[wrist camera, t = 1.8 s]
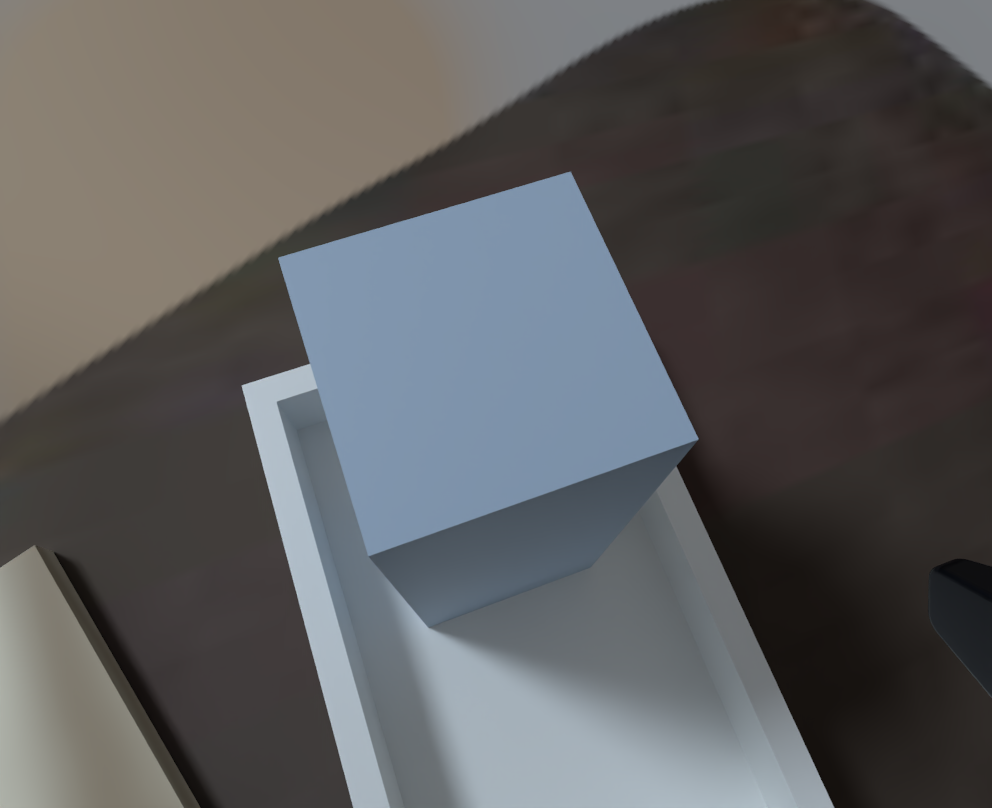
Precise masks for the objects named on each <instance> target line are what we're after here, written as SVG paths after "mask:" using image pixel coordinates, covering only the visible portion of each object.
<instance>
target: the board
mask: <svg viewBox="0 0 992 808" xmlns="http://www.w3.org/2000/svg"><path fill="white" fill-rule="evenodd" d="M0 808H200V806H199V804H198V802H197V801H196V799H195V797H194V795H193V794H192V792H191V790H190V789H189V787H188V785H187V783H186V782H185V780H184V778H183V776H182V775H181V773H180V771H179V769H178V768H177V766H176V764H175V762H174V761H173V759H172V757H171V756H170V754H169V752H168V750H167V749H166V747H165V745H164V743H163V742H162V740H161V738H160V736H159V735H158V733H157V731H156V729H155V728H154V726H153V724H152V723H151V721H150V719H149V717H148V716H147V714H146V712H145V710H144V709H143V707H142V705H141V703H140V702H139V700H138V698H137V696H136V695H135V693H134V691H133V690H132V688H131V686H130V684H129V683H128V681H127V679H126V677H125V676H124V674H123V672H122V670H121V669H120V667H119V665H118V663H117V662H116V660H115V658H114V657H113V655H112V653H111V651H110V650H109V648H108V646H107V644H106V643H105V641H104V639H103V637H102V636H101V634H100V632H99V630H98V629H97V627H96V625H95V624H94V622H93V620H92V618H91V617H90V615H89V613H88V611H87V610H86V608H85V606H84V604H83V603H82V601H81V599H80V597H79V596H78V594H77V592H76V591H75V589H74V587H73V585H72V584H71V582H70V580H69V578H68V577H67V575H66V573H65V571H64V570H63V568H62V566H61V564H60V563H59V561H58V559H57V558H56V556H55V554H54V552H53V551H50V550H47V549H44V548H41V547H38V546H35V545H34V546H33V547H31V548H30V549H28V550H27V551H25V552H24V553H22V554H21V555H19V556H17V557H16V558H14V559H13V560H11V561H10V562H8V563H7V564H5V565H4V566H2V567H1V568H0Z"/></svg>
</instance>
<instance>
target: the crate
mask: <svg viewBox="0 0 992 808" xmlns="http://www.w3.org/2000/svg"><path fill="white" fill-rule="evenodd" d="M242 389H243V392H244V396H245V400H246V404H247V408H248V411H249V415H250V419H251V423H252V426H253V430H254V434H255V438H256V442H257V445H258V449H259V453H260V457H261V460H262V464H263V468H264V472H265V476H266V479H267V483H268V487H269V491H270V494H271V498H272V502H273V506H274V510H275V513H276V517H277V521H278V525H279V528H280V532H281V536H282V540H283V544H284V547H285V551H286V555H287V559H288V562H289V566H290V570H291V574H292V578H293V581H294V585H295V589H296V593H297V597H298V600H299V604H300V608H301V612H302V615H303V619H304V623H305V627H306V631H307V634H308V638H309V642H310V646H311V649H312V653H313V657H314V661H315V665H316V668H317V672H318V676H319V680H320V683H321V687H322V691H323V695H324V699H325V702H326V706H327V710H328V714H329V717H330V721H331V725H332V729H333V733H334V736H335V740H336V744H337V748H338V751H339V755H340V759H341V763H342V767H343V770H344V774H345V778H346V782H347V785H348V789H349V793H350V797H351V801H352V804H353V808H834V806H833V804H832V802H831V800H830V798H829V795H828V793H827V791H826V789H825V787H824V785H823V782H822V780H821V778H820V776H819V774H818V772H817V769H816V767H815V765H814V763H813V761H812V759H811V757H810V754H809V752H808V750H807V748H806V746H805V744H804V741H803V739H802V737H801V735H800V733H799V731H798V728H797V726H796V724H795V722H794V720H793V718H792V715H791V713H790V711H789V709H788V707H787V705H786V702H785V700H784V698H783V696H782V694H781V692H780V689H779V687H778V685H777V683H776V681H775V679H774V676H773V674H772V672H771V670H770V668H769V666H768V663H767V661H766V659H765V657H764V655H763V653H762V650H761V648H760V646H759V644H758V642H757V640H756V637H755V635H754V633H753V631H752V629H751V627H750V624H749V622H748V620H747V618H746V616H745V614H744V611H743V609H742V607H741V605H740V603H739V601H738V599H737V596H736V594H735V592H734V590H733V588H732V586H731V583H730V581H729V579H728V577H727V575H726V573H725V570H724V568H723V566H722V564H721V562H720V560H719V557H718V555H717V553H716V551H715V549H714V547H713V544H712V542H711V540H710V538H709V536H708V534H707V531H706V529H705V527H704V525H703V523H702V521H701V518H700V516H699V514H698V512H697V510H696V508H695V505H694V503H693V501H692V499H691V497H690V495H689V492H688V490H687V488H686V486H685V484H684V482H683V479H682V477H681V475H680V473H679V471H678V469H677V466H676V467H675V468H674V469H673V470H672V472H671V473H670V474H669V475H668V476H667V478H666V479H665V480H664V481H663V482H662V483H661V485H660V486H659V487H658V488H657V489H656V491H655V492H654V493H653V494H652V495H651V497H650V498H649V499H648V500H647V501H646V502H645V504H644V505H643V506H642V507H641V508H640V510H639V511H638V512H637V513H636V514H635V516H634V517H633V518H632V519H631V520H630V521H629V523H628V524H627V525H626V526H625V527H624V529H623V530H622V531H621V532H620V533H619V535H618V536H617V537H616V538H615V539H614V540H613V542H612V543H611V544H610V545H609V546H608V548H607V549H606V550H605V551H604V552H603V553H602V555H601V556H600V557H599V558H598V559H597V561H596V562H595V563H594V564H593V565H592V567H591V568H588V569H585V570H582V571H580V572H577V573H574V574H572V575H569V576H566V577H564V578H561V579H558V580H556V581H553V582H550V583H547V584H545V585H542V586H539V587H537V588H534V589H531V590H529V591H526V592H523V593H521V594H518V595H515V596H512V597H510V598H507V599H504V600H502V601H499V602H496V603H494V604H491V605H488V606H485V607H483V608H480V609H477V610H475V611H472V612H469V613H467V614H464V615H461V616H459V617H456V618H453V619H450V620H448V621H445V622H442V623H440V624H437V625H434V626H432V627H429V628H428V627H427V626H426V624H425V623H424V622H423V621H422V620H421V619H420V617H419V616H418V615H417V614H416V613H415V611H414V610H413V609H412V608H411V607H410V605H409V604H408V603H407V602H406V601H405V599H404V598H403V597H402V596H401V595H400V593H399V592H398V591H397V590H396V589H395V588H394V586H393V585H392V584H391V583H390V582H389V580H388V579H387V578H386V577H385V576H384V574H383V573H382V572H381V571H380V570H379V568H378V567H377V566H376V565H375V564H374V562H373V561H372V560H371V559H370V558H369V557H368V554H367V550H366V547H365V544H364V540H363V537H362V534H361V530H360V527H359V524H358V520H357V517H356V514H355V511H354V507H353V504H352V501H351V497H350V494H349V491H348V487H347V484H346V481H345V477H344V474H343V471H342V467H341V464H340V461H339V458H338V454H337V451H336V448H335V444H334V441H333V438H332V434H331V431H330V428H329V424H328V421H327V418H326V415H325V411H324V408H323V405H322V401H321V398H320V395H319V391H318V388H317V385H316V381H315V378H314V375H313V371H312V368H311V365H310V364H308V365H305V366H302V367H299V368H296V369H293V370H289V371H286V372H283V373H280V374H277V375H274V376H270V377H267V378H264V379H261V380H258V381H255V382H251V383H248V384H245V385H242Z"/></svg>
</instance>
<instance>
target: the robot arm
mask: <svg viewBox="0 0 992 808" xmlns="http://www.w3.org/2000/svg"><path fill="white" fill-rule="evenodd" d="M928 613H929V618H930V621H931V623H932V626H933V627H934V629H935V630H936V632H937V633H938V634H939V636H940V637H941V638H942V639H943V640H944V642H945V643H946V644H947V645H948V646H949V648H950V649H951V650H952V651H953V652H954V653H955V655H956V656H957V657H958V658H959V659H960V661H961V662H962V663H963V664H964V665H965V667H966V668H967V669H968V670H969V671H970V672H971V674H972V675H973V676H974V677H975V678H976V680H977V681H978V682H979V683H980V684H981V686H982V687H983V688H984V689H985V690H986V692H987V693H988V694H989V695H990V696H991V697H992V567H991V566H987V565H984V564H980V563H977V562H974V561H970V560H966V559H954V560H951V561H949V562H946V563H944V564H941V565H939V566H936V567H934V568H933V569H932V570H931V572H930V574H929V600H928Z"/></svg>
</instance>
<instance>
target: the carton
mask: <svg viewBox="0 0 992 808" xmlns="http://www.w3.org/2000/svg"><path fill="white" fill-rule="evenodd" d="M278 259H279V262H280V265H281V269H282V272H283V275H284V279H285V282H286V285H287V289H288V292H289V295H290V299H291V302H292V305H293V309H294V312H295V315H296V318H297V322H298V325H299V328H300V332H301V335H302V338H303V342H304V345H305V348H306V352H307V355H308V358H309V362H310V365H311V368H312V371H313V375H314V378H315V381H316V385H317V388H318V391H319V395H320V398H321V401H322V405H323V408H324V411H325V415H326V418H327V421H328V424H329V428H330V431H331V434H332V438H333V441H334V444H335V448H336V451H337V454H338V458H339V461H340V464H341V467H342V471H343V474H344V477H345V481H346V484H347V487H348V491H349V494H350V497H351V501H352V504H353V507H354V511H355V514H356V517H357V520H358V524H359V527H360V530H361V534H362V537H363V540H364V544H365V547H366V550H367V554H368V557H369V558H370V559H371V560H372V561H373V562H374V564H375V565H376V566H377V567H378V568H379V570H380V571H381V572H382V573H383V574H384V576H385V577H386V578H387V579H388V580H389V582H390V583H391V584H392V585H393V586H394V588H395V589H396V590H397V591H398V592H399V593H400V595H401V596H402V597H403V598H404V599H405V601H406V602H407V603H408V604H409V605H410V607H411V608H412V609H413V610H414V611H415V613H416V614H417V615H418V616H419V617H420V619H421V620H422V621H423V622H424V623H425V624H426V626H427V627H428V628H429V627H432V626H434V625H437V624H440V623H442V622H445V621H448V620H450V619H453V618H456V617H459V616H461V615H464V614H467V613H469V612H472V611H475V610H477V609H480V608H483V607H485V606H488V605H491V604H494V603H496V602H499V601H502V600H504V599H507V598H510V597H512V596H515V595H518V594H521V593H523V592H526V591H529V590H531V589H534V588H537V587H539V586H542V585H545V584H547V583H550V582H553V581H556V580H558V579H561V578H564V577H566V576H569V575H572V574H574V573H577V572H580V571H582V570H585V569H588V568H591V567H592V565H593V564H594V563H595V562H596V561H597V559H598V558H599V557H600V556H601V555H602V553H603V552H604V551H605V550H606V549H607V548H608V546H609V545H610V544H611V543H612V542H613V540H614V539H615V538H616V537H617V536H618V535H619V533H620V532H621V531H622V530H623V529H624V527H625V526H626V525H627V524H628V523H629V521H630V520H631V519H632V518H633V517H634V516H635V514H636V513H637V512H638V511H639V510H640V508H641V507H642V506H643V505H644V504H645V502H646V501H647V500H648V499H649V498H650V497H651V495H652V494H653V493H654V492H655V491H656V489H657V488H658V487H659V486H660V485H661V483H662V482H663V481H664V480H665V479H666V478H667V476H668V475H669V474H670V473H671V472H672V470H673V469H674V468H675V467H676V466H677V465H678V463H679V462H680V461H681V460H682V459H683V457H684V456H685V455H686V454H687V453H688V451H689V450H690V449H691V448H692V447H693V446H694V444H695V443H696V442H697V441H698V440H699V439H698V437H697V435H696V433H695V431H694V429H693V426H692V424H691V422H690V420H689V418H688V416H687V414H686V412H685V410H684V408H683V406H682V404H681V401H680V399H679V397H678V395H677V393H676V391H675V389H674V387H673V385H672V383H671V381H670V378H669V376H668V374H667V372H666V370H665V368H664V366H663V364H662V362H661V360H660V358H659V355H658V353H657V351H656V349H655V347H654V345H653V343H652V341H651V339H650V337H649V335H648V332H647V330H646V328H645V326H644V324H643V322H642V320H641V318H640V316H639V314H638V312H637V310H636V307H635V305H634V303H633V301H632V299H631V297H630V295H629V293H628V291H627V289H626V287H625V284H624V282H623V280H622V278H621V276H620V274H619V272H618V270H617V268H616V266H615V264H614V261H613V259H612V257H611V255H610V253H609V251H608V249H607V247H606V245H605V243H604V241H603V239H602V236H601V234H600V232H599V230H598V228H597V226H596V224H595V222H594V220H593V218H592V216H591V213H590V211H589V209H588V207H587V205H586V203H585V201H584V199H583V197H582V195H581V193H580V190H579V188H578V186H577V184H576V182H575V180H574V178H573V176H572V174H571V172H568V173H565V174H561V175H558V176H554V177H551V178H548V179H544V180H541V181H537V182H534V183H531V184H527V185H524V186H520V187H517V188H514V189H510V190H507V191H503V192H500V193H497V194H493V195H490V196H487V197H483V198H480V199H476V200H473V201H470V202H466V203H463V204H459V205H456V206H453V207H449V208H446V209H442V210H439V211H436V212H432V213H429V214H425V215H422V216H419V217H415V218H412V219H408V220H405V221H402V222H398V223H395V224H391V225H388V226H385V227H381V228H378V229H374V230H371V231H368V232H364V233H361V234H357V235H354V236H351V237H347V238H344V239H340V240H337V241H334V242H330V243H327V244H323V245H320V246H317V247H313V248H310V249H306V250H303V251H300V252H296V253H293V254H289V255H286V256H283V257H279V258H278Z"/></svg>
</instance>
